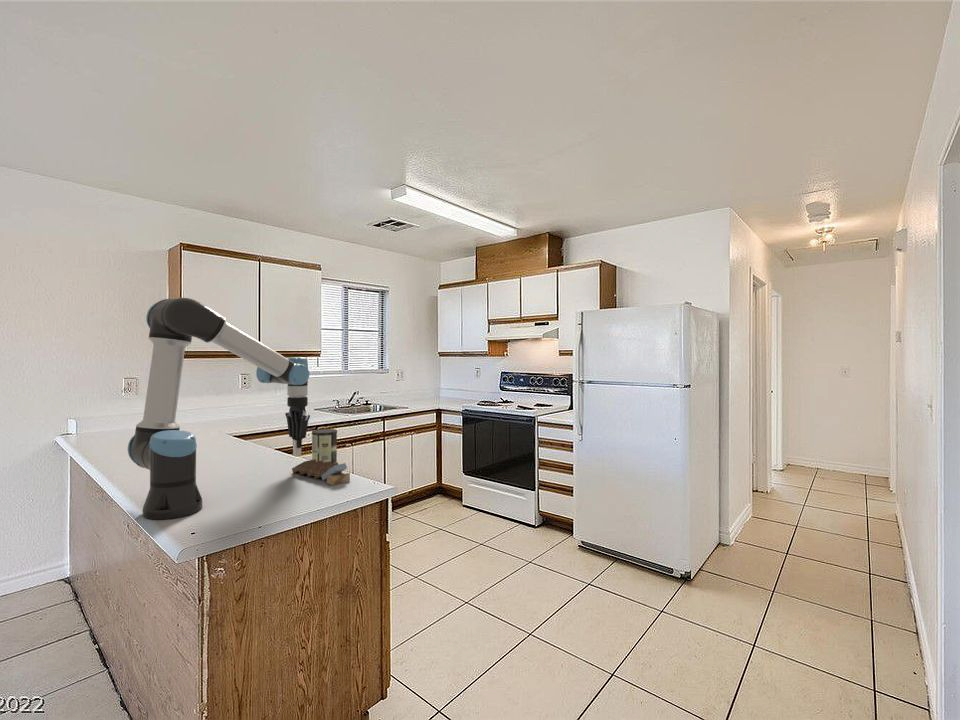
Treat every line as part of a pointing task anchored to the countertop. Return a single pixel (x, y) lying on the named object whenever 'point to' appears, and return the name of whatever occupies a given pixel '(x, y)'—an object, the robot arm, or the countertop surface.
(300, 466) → the domino
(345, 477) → the stop block
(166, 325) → the robot arm
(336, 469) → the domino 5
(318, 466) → the domino
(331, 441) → the coffee can
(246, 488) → the countertop surface
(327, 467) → the domino
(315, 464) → the domino
